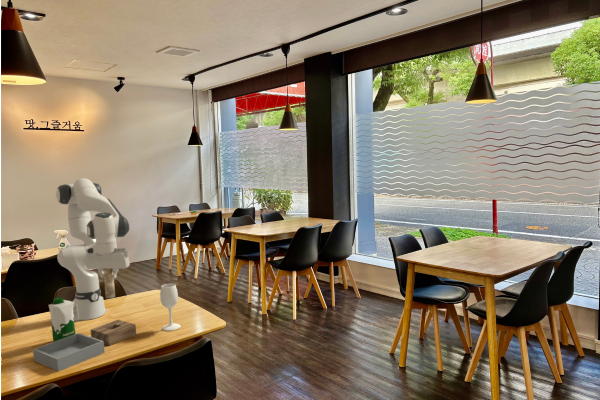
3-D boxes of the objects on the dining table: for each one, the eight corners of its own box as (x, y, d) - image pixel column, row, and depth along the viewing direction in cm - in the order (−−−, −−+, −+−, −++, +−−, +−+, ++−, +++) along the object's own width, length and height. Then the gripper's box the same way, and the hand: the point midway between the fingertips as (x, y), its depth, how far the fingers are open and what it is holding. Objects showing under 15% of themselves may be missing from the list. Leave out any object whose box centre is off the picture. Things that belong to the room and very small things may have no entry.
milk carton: (68, 336, 210) (64, 295, 209) (79, 339, 206) (75, 297, 204) (50, 343, 203) (45, 300, 201) (61, 346, 198) (56, 303, 196)
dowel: (104, 298, 203) (101, 268, 202) (109, 295, 207) (106, 266, 206) (112, 298, 202) (109, 268, 201) (116, 295, 206) (114, 266, 205)
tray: (34, 360, 185) (32, 349, 184) (79, 343, 201) (78, 332, 200) (58, 371, 174) (57, 359, 173) (104, 352, 190) (103, 341, 189)
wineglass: (158, 328, 215) (155, 286, 213) (174, 323, 221) (171, 282, 219) (168, 332, 209) (164, 289, 207) (184, 326, 215) (181, 284, 214)
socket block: (91, 339, 204) (90, 329, 204) (118, 329, 216) (117, 319, 216) (109, 345, 197) (108, 334, 196) (136, 334, 208) (135, 324, 208)
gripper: (131, 246, 204) (133, 275, 205) (90, 247, 207) (93, 275, 209) (123, 249, 198) (126, 279, 199) (82, 249, 201) (84, 279, 202)
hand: (108, 277), depth 204 cm, fingers closed on dowel, 4 cm apart
